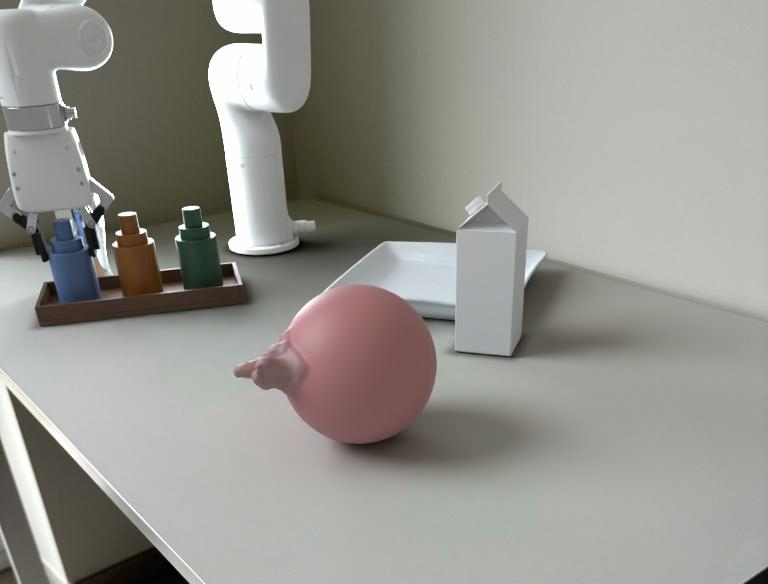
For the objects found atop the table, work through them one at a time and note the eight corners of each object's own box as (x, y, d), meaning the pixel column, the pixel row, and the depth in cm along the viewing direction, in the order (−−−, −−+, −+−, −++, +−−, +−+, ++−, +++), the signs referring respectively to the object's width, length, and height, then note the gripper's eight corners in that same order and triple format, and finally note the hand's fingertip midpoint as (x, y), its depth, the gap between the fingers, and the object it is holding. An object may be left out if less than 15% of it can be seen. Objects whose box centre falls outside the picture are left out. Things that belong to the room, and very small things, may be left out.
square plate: (384, 261, 134) (383, 237, 131) (547, 272, 125) (549, 247, 123) (319, 316, 113) (317, 289, 110) (511, 334, 104) (513, 305, 102)
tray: (238, 279, 129) (235, 261, 127) (245, 303, 119) (242, 284, 117) (48, 299, 123) (43, 281, 122) (39, 326, 113) (34, 307, 112)
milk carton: (521, 336, 104) (531, 181, 93) (510, 357, 98) (519, 195, 88) (468, 332, 106) (471, 179, 95) (454, 352, 100) (456, 193, 90)
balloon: (231, 424, 86) (209, 283, 77) (405, 392, 91) (402, 256, 82) (261, 495, 74) (239, 337, 65) (460, 453, 79) (463, 301, 70)
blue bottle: (103, 294, 122) (84, 213, 115) (101, 307, 117) (81, 223, 110) (62, 299, 121) (41, 217, 114) (59, 312, 116) (36, 227, 109)
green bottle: (222, 281, 125) (210, 201, 119) (225, 293, 120) (213, 210, 114) (183, 285, 124) (169, 205, 117) (185, 298, 119) (170, 214, 113)
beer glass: (63, 286, 129) (38, 188, 120) (92, 273, 134) (69, 178, 126) (98, 290, 126) (74, 190, 118) (126, 277, 132) (105, 180, 123)
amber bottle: (164, 288, 124) (148, 207, 117) (164, 300, 119) (148, 216, 112) (124, 292, 122) (106, 211, 116) (123, 305, 118) (104, 220, 111)
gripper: (104, 111, 110) (132, 244, 120) (-29, 120, 107) (11, 256, 117) (102, 118, 104) (131, 258, 114) (-40, 128, 101) (3, 271, 111)
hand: (70, 256), depth 115 cm, fingers closed on blue bottle, 6 cm apart
